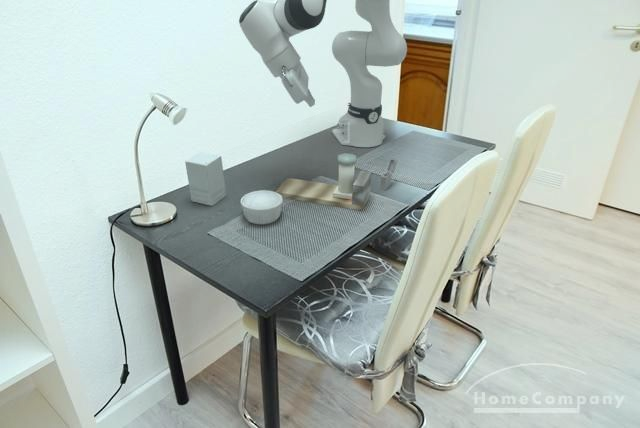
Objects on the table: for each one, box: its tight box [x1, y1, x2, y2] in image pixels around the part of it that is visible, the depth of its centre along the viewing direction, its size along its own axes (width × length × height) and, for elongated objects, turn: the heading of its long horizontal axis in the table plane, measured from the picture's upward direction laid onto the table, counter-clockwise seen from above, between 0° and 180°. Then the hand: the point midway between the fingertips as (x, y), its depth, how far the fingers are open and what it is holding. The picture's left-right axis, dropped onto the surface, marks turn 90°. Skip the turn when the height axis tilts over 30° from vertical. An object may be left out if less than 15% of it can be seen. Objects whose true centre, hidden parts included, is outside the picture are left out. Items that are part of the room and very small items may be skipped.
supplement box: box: [184, 151, 227, 207], centre depth 128 cm, size 7×7×13 cm
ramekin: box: [239, 189, 284, 225], centre depth 121 cm, size 11×11×5 cm
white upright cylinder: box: [333, 153, 357, 200], centre depth 127 cm, size 6×6×11 cm
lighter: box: [379, 158, 398, 191], centre depth 137 cm, size 7×2×8 cm, turn 146°
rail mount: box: [275, 170, 372, 211], centre depth 131 cm, size 26×10×8 cm, turn 72°
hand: (312, 104), depth 127 cm, fingers closed
